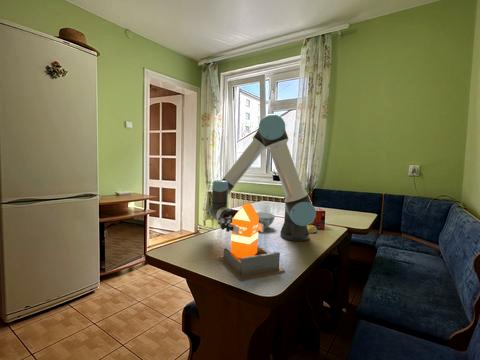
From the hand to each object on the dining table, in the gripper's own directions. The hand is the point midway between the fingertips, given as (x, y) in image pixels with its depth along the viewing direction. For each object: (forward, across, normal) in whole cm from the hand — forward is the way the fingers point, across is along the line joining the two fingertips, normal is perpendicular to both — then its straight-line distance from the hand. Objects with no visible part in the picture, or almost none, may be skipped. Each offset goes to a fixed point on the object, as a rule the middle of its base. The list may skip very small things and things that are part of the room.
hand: (250, 229), depth 94 cm
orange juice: (-4, 0, -11) cm, 12 cm away
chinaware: (-47, -34, -14) cm, 60 cm away
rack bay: (-1, -1, -14) cm, 14 cm away
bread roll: (-31, -57, -15) cm, 66 cm away
